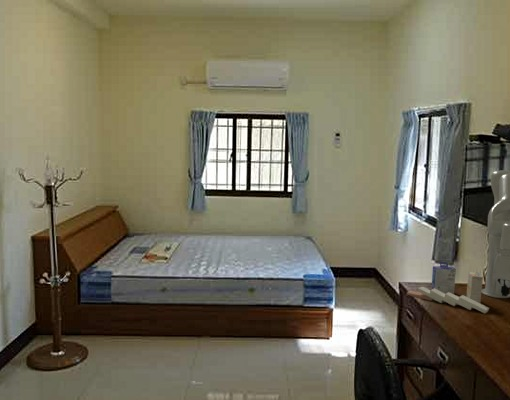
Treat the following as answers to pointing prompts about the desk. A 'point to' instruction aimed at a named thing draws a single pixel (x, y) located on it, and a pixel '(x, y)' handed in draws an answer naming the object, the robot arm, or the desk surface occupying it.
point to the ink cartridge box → (443, 278)
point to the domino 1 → (419, 295)
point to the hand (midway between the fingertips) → (504, 295)
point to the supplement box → (474, 286)
